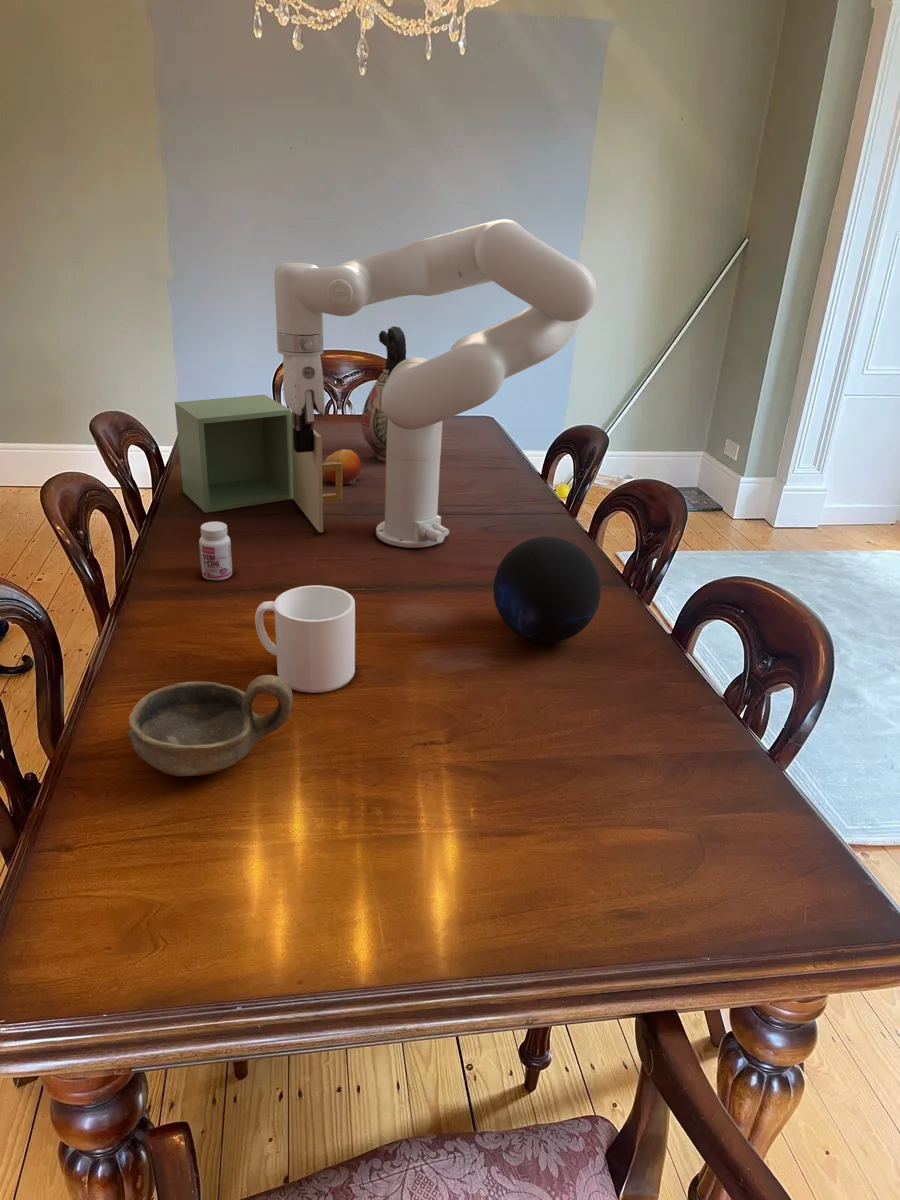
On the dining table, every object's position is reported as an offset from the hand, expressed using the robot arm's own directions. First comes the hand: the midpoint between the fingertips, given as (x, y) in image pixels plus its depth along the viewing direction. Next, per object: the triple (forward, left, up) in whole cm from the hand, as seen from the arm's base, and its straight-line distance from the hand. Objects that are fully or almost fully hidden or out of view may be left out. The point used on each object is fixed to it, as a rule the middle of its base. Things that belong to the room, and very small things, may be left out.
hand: (303, 450), depth 146 cm
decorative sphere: (-54, -3, -15) cm, 56 cm away
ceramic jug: (+23, -41, -15) cm, 50 cm away
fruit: (+17, -21, -15) cm, 31 cm away
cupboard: (+22, +1, -15) cm, 27 cm away
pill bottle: (-8, +23, -15) cm, 28 cm away
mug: (-41, +29, -15) cm, 52 cm away
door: (+4, -6, -15) cm, 16 cm away
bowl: (-49, +47, -15) cm, 69 cm away
